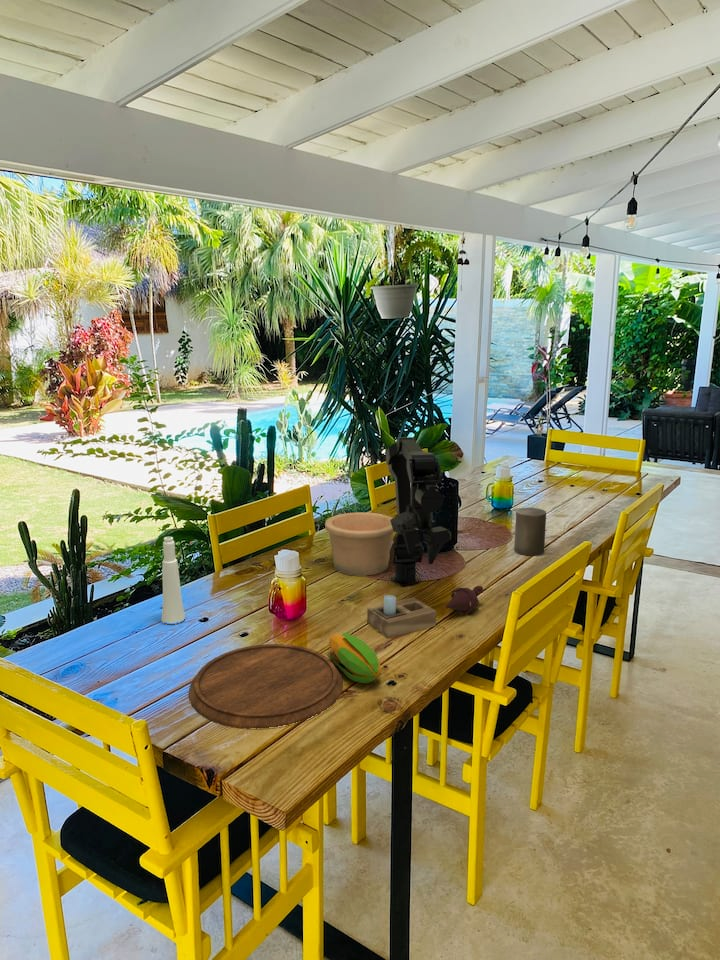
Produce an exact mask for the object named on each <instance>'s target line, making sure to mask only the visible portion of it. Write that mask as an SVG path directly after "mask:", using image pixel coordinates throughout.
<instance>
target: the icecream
mask: <svg viewBox="0 0 720 960" xmlns="http://www.w3.org/2000/svg"><path fill="white" fill-rule="evenodd" d="M483 591H484V587H483V586H482V585H476V586H474V587H473V589H471V588H469V587H457V588H455V589H453V590H452V591H451V594H450V595H451V599H450V600H449V601H448V602H447V603H446V605H445V608H447V609H451V610H456V611H457V613H461V614H463V615H468V614H470V612H472V611H474V610H475V608H476V606H477V605H478V604H479V598H478V596H479V594H481V593H482V592H483Z"/></svg>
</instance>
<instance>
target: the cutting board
mask: <svg viewBox="0 0 720 960" xmlns="http://www.w3.org/2000/svg"><path fill="white" fill-rule="evenodd" d="M339 670H340V669H339V668H338V667H337V666H336V665H335V664H334V663H333V662H332V661H331V659H330V658H328V657H327V656H325V655H324V654H322V653H320V652H318V651H315V650H314V649H313V650H312V649H310V648H307V647H304V646H298V645H292V644H282V643H270V644H268V643H266V644H257V645H256V644H255V645H249V646H245V647H241V648H237V649H233V650H231V651H228V652H224V653H222V654H220V655H218V656H216V657H214V658H213V659H211V660H210V661H208V662H206V663H205V664H204V665H203V666H202V667H201V668H200V670H198V672H197V674H196V675H195V676H194V678H193V679H192V680H191V683H190V685H189V691H188V697H189V702H190V701H191V702H190V703H191V706H192V708H193V709H194V708H195V709H194V710H195V711H196V713H198V714H199V713H200V714H199V715H201V716H202V717H203V718H205V719H207V720H209V721H210V722H213V723H215V724H218V723H219V725H221V724H222V725H221V726H226V727H229V726H230V728H234V727H235V729H242V728H247V729H246V730H249V729H248V728H256V729H255V730H258V729H257V728H269V727H278V726H283V725H289V724H292V723H296V722H299V721H302V720H304V719H308V718H311V717H312V716H315V715H316V714H319V713H321V712H322V711H324V710H326V709H327V708H329V707H330V706H331V705H332V704H333V703H334V704H335V703H336V702H337V701H336V700H339V699H340V697H341V694H342V692H343V687H344V686H343V684H344V682H343V678H342V674H341V673H340V671H339ZM339 696H340V697H339ZM334 704H333V705H334ZM333 705H332V706H333ZM332 706H331V707H332ZM331 707H330V708H331ZM330 708H329V709H330ZM327 710H328V709H327ZM327 710H326V711H327ZM324 712H325V711H324ZM321 714H322V713H321Z"/></svg>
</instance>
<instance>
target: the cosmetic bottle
mask: <svg viewBox="0 0 720 960" xmlns="http://www.w3.org/2000/svg"><path fill="white" fill-rule="evenodd" d="M162 548H163V560H162V561H161V562H162V564H161V566H162V570H161V571H162V611H161V612H162V613H161V619H162V621H163V622H167V623H176V622H180V621H182V620H184V619H185V617H186V614H185V610H184V602H183V597H182V590H181V581H180V580H181V579H180V571H179V562H178V558H176V545H175V540H174V537H173V536H165V537H163V541H162ZM185 620H186V619H185ZM162 621H161V622H162Z"/></svg>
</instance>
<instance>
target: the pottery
mask: <svg viewBox="0 0 720 960" xmlns="http://www.w3.org/2000/svg"><path fill="white" fill-rule="evenodd" d="M392 518H393V517H391V516H388V515H385V514H382V513H375V512H364V511H363V512H362V511H358V512H357V511H356V512H347V513H340V514H336V515H334V516H331V517H328V518H327V519H326V520H325V522H324V523H325V524H324V526H325V529H324V530H326V531H327V532H328V535H329V540H330V545H331V554H332V560H333V568H334V569H335V570H336V571H337V572H338V573H341V574H344V575H348V576H357V577H367V575H370V576H374V574H375V575H379V574H381V573H384V572H385V571H386V570H387V569H388V568H389V562H390V554H389V552H390V549H391V546H392V544H393V537H394V533H395V532H394V531H393V528H392V525H391V522H390V520H391V519H392ZM378 573H379V574H378Z"/></svg>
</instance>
